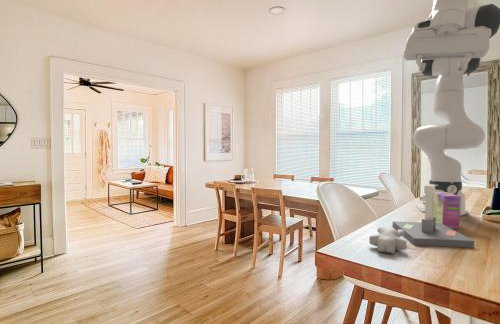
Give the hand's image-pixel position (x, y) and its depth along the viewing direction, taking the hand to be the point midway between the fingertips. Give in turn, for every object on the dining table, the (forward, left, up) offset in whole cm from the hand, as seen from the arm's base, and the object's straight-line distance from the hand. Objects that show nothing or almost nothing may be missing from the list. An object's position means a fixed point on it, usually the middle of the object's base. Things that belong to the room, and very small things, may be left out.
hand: (441, 69), depth 81 cm
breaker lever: (-11, +3, -48) cm, 50 cm away
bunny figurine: (+2, -13, -51) cm, 53 cm away
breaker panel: (-11, +3, -51) cm, 52 cm away
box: (-27, +15, -51) cm, 60 cm away
